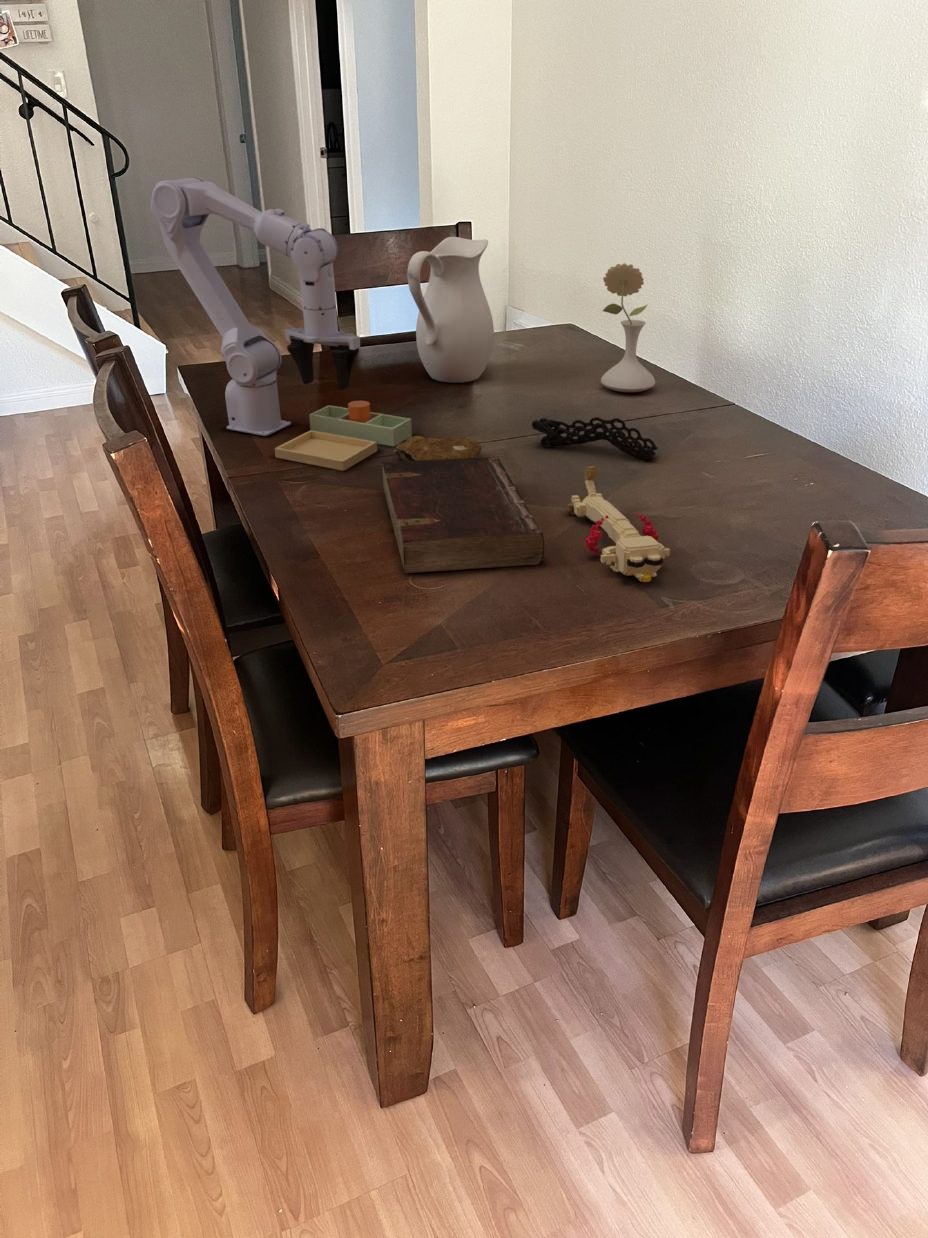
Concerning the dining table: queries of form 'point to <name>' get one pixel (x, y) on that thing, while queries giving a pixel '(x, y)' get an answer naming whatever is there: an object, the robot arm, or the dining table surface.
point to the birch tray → (326, 450)
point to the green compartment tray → (361, 426)
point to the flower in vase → (627, 333)
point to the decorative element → (558, 440)
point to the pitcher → (452, 311)
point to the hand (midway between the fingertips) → (325, 385)
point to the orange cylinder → (359, 411)
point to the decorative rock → (437, 448)
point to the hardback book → (459, 515)
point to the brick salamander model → (619, 535)
